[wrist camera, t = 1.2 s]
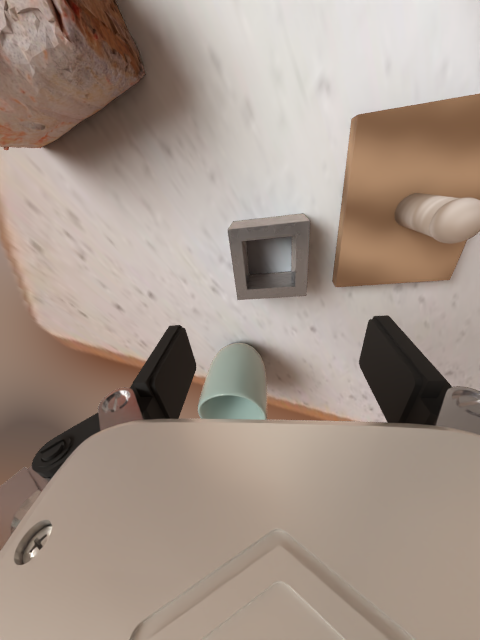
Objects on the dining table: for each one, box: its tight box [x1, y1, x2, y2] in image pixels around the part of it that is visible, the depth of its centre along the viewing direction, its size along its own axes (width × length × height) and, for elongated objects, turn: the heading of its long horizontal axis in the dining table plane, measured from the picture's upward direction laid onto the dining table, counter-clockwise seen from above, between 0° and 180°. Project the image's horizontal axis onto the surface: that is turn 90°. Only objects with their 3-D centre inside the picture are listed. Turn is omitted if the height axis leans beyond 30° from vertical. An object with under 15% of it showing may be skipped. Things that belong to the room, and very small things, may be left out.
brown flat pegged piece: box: [332, 94, 480, 287], centre depth 17 cm, size 14×11×8 cm
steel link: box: [228, 213, 310, 300], centre depth 22 cm, size 7×7×4 cm
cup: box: [198, 343, 267, 420], centre depth 29 cm, size 8×8×10 cm
